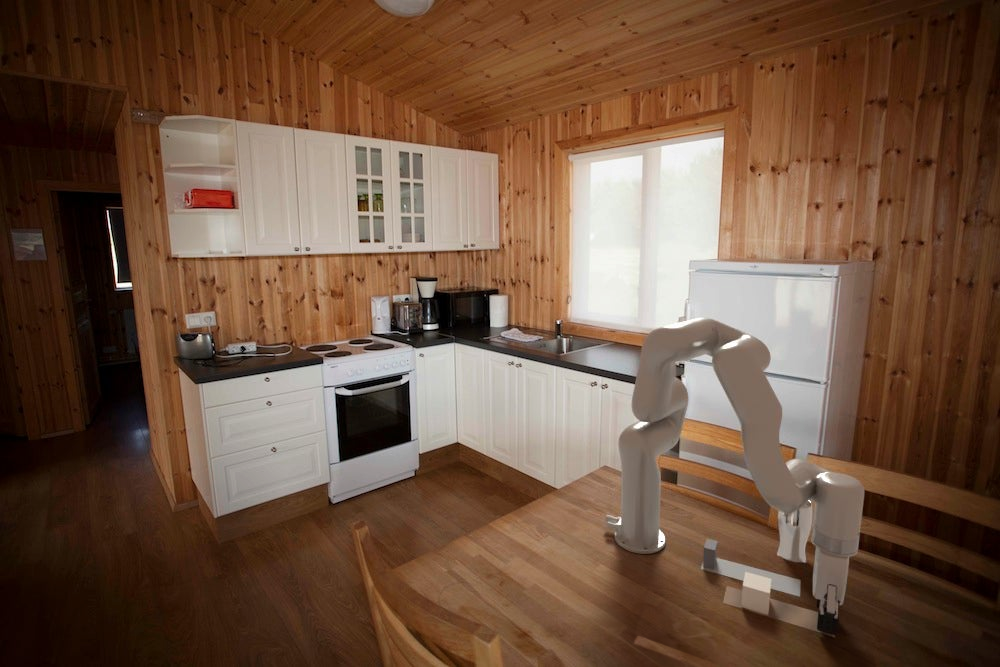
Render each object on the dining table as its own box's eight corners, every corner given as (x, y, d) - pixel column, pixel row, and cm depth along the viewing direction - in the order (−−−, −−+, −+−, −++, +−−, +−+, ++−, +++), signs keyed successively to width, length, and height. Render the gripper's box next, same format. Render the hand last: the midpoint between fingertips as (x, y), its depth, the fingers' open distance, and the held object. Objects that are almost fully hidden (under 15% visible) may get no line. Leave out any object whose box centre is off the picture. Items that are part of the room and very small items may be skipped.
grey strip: (700, 572, 122) (701, 549, 120) (705, 558, 127) (706, 535, 126) (799, 600, 112) (802, 575, 111) (800, 584, 117) (802, 560, 116)
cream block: (741, 606, 109) (742, 585, 108) (743, 592, 113) (745, 571, 112) (768, 615, 107) (769, 593, 106) (769, 599, 111) (771, 578, 110)
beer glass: (812, 569, 122) (818, 510, 119) (780, 566, 123) (784, 507, 120) (802, 551, 128) (807, 494, 125) (771, 548, 130) (775, 492, 127)
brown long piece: (722, 606, 111) (724, 581, 109) (726, 589, 116) (728, 565, 115) (834, 641, 101) (837, 614, 100) (833, 621, 106) (836, 595, 105)
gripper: (811, 512, 109) (804, 588, 113) (812, 557, 95) (803, 643, 98) (855, 521, 105) (846, 599, 109) (862, 569, 91) (851, 658, 94)
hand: (826, 619), depth 104 cm, fingers open, 6 cm apart
